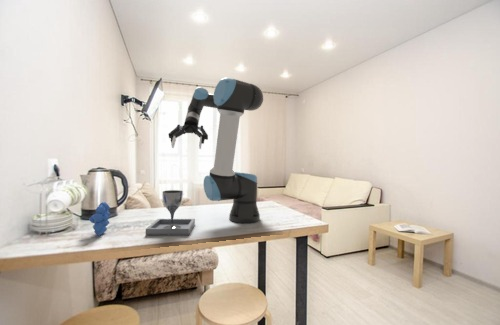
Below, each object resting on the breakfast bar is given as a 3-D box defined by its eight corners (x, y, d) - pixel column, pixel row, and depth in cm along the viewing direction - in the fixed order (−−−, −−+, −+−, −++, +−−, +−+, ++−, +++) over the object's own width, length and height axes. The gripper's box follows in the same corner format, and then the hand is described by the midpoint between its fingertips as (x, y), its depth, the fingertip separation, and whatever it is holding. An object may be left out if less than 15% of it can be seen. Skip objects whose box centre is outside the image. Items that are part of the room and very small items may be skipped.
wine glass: (175, 231, 89) (176, 193, 89) (157, 229, 91) (158, 192, 90) (185, 225, 97) (186, 190, 97) (168, 224, 98) (169, 189, 98)
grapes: (94, 229, 91) (95, 200, 91) (113, 228, 93) (114, 199, 93) (81, 239, 80) (82, 205, 80) (103, 238, 82) (104, 205, 82)
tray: (194, 224, 102) (194, 218, 102) (188, 235, 87) (188, 228, 87) (158, 224, 100) (158, 218, 100) (145, 235, 85) (145, 229, 85)
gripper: (214, 127, 133) (211, 152, 118) (170, 126, 130) (162, 151, 116) (213, 117, 127) (211, 141, 112) (168, 115, 125) (159, 139, 110)
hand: (186, 146), depth 114 cm, fingers open, 13 cm apart
